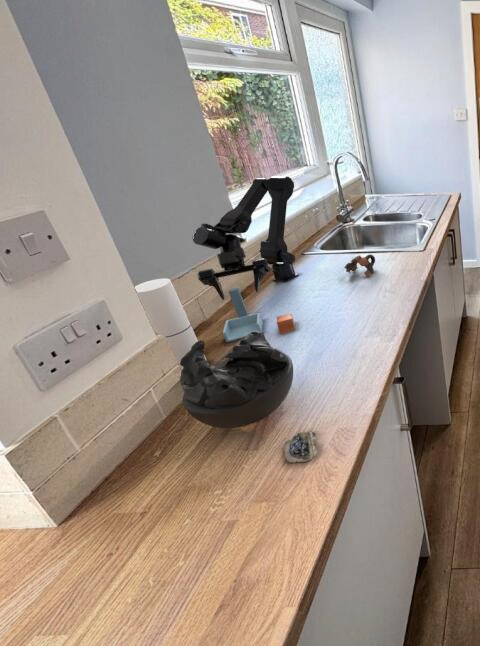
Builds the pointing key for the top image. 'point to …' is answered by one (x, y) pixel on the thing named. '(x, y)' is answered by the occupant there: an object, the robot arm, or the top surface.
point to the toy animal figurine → (362, 264)
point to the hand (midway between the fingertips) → (240, 295)
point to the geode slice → (300, 447)
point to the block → (285, 323)
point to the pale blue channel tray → (241, 320)
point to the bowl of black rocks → (236, 383)
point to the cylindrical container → (167, 315)
